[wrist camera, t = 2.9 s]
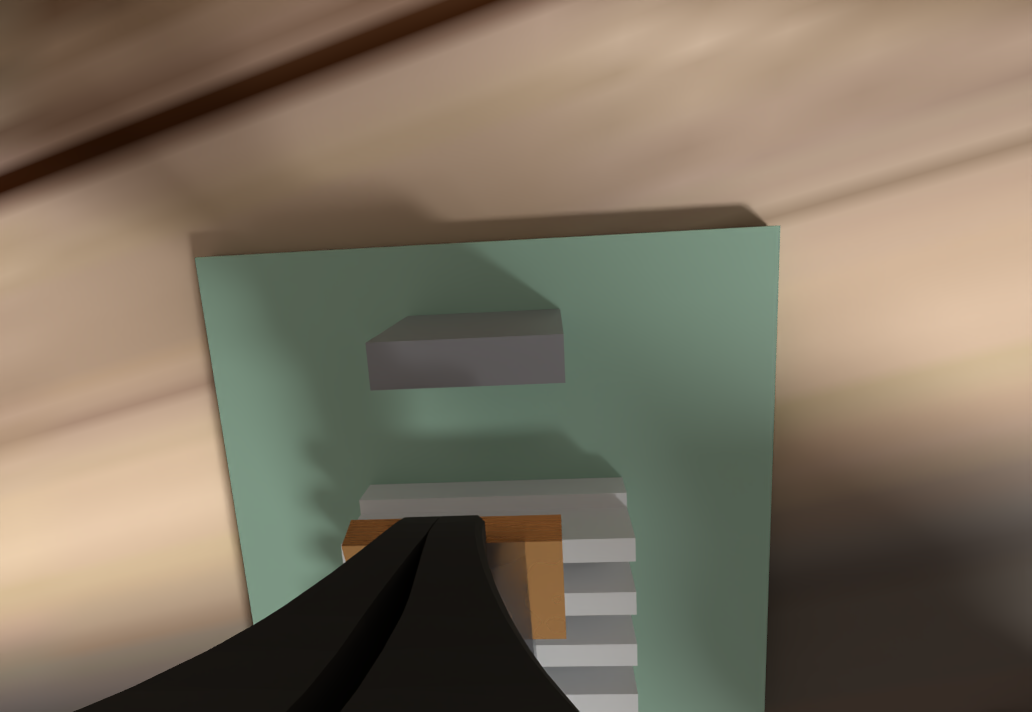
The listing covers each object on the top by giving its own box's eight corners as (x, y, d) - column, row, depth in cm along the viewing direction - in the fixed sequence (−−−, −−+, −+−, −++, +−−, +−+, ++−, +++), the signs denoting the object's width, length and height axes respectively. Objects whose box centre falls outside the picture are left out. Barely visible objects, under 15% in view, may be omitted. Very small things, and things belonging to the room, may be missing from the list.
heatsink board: (750, 851, 20) (812, 1042, 15) (302, 847, 21) (231, 1027, 16) (768, 225, 16) (860, 225, 11) (211, 256, 17) (81, 267, 12)
